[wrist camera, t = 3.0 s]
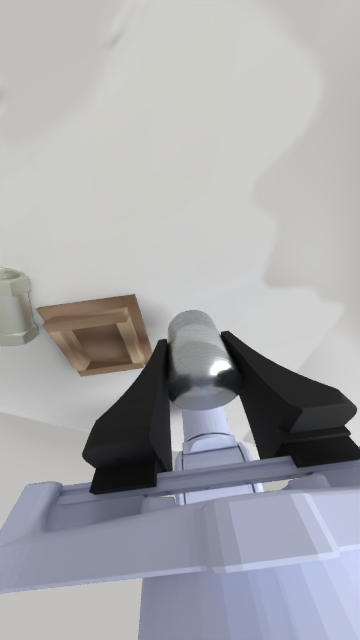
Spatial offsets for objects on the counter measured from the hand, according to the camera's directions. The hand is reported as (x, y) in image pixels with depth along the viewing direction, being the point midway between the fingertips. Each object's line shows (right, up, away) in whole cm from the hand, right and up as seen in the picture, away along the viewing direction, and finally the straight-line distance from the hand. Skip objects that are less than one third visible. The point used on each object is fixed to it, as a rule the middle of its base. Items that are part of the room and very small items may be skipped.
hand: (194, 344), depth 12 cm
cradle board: (-12, 0, +9) cm, 15 cm away
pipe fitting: (-22, +5, +5) cm, 23 cm away
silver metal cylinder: (0, +1, +2) cm, 2 cm away
